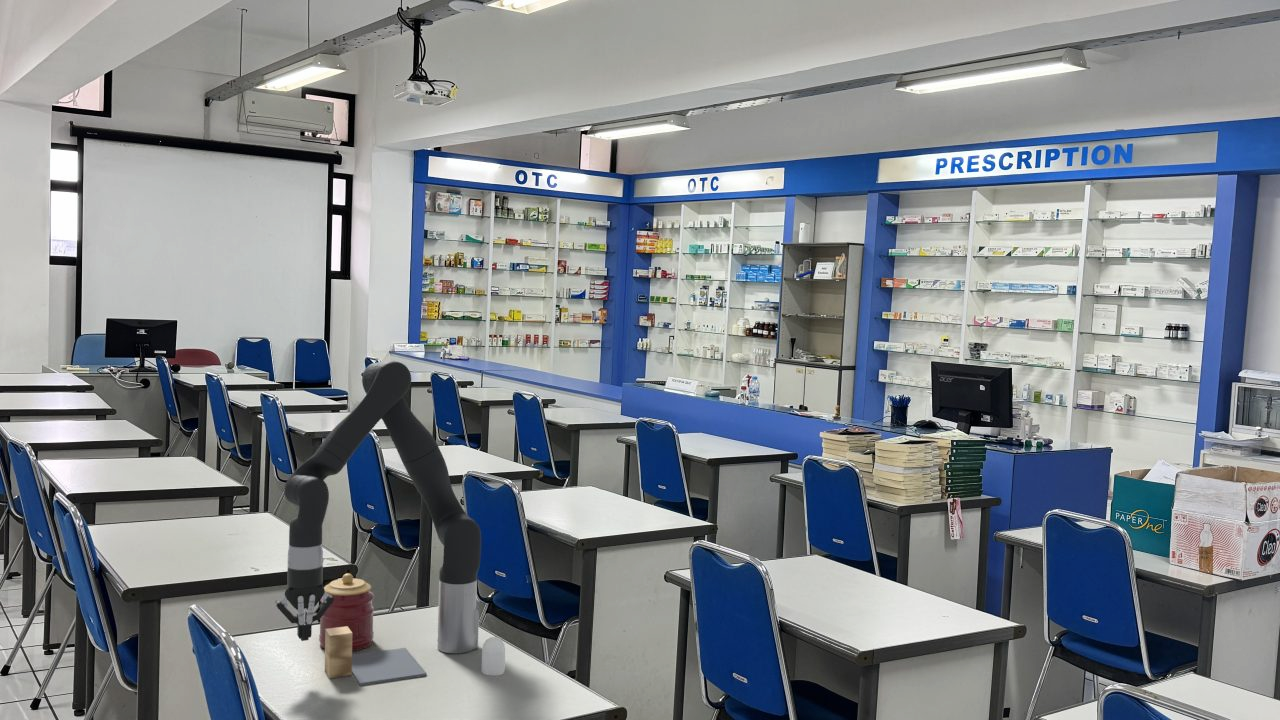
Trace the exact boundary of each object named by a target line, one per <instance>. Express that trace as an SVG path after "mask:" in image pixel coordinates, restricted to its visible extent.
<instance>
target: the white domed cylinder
mask: <svg viewBox="0 0 1280 720" xmlns="http://www.w3.org/2000/svg"><path fill="white" fill-rule="evenodd" d="M505 663H506V646H505V643H504V641H503V640H502V639H501V638H499V637H497V636H492V637H489V638H487V639H486V640H485V641H484V643H483V645H482V648H481V673H482V674H483V675H487V676H499V675H502V674H504V673H505V669H506V668H505V667H506V666H505V665H506V664H505Z"/></svg>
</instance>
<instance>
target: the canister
mask: <svg viewBox="0 0 1280 720" xmlns="http://www.w3.org/2000/svg"><path fill="white" fill-rule="evenodd" d="M323 588H324V590H325V593H327V594H328V595H329V594H330V595H332V597H333V598H334V601H333V603H332V604H331V605H330V606H329V608H328V609H327V610H326V612H325V613H324V614H323V616H322V617H321V618H320V621H319V623H320V624H319V635H318V637H319V639H318V641H319V646H320V647H321V648H322V649H324V650H325V629H329V628H337V627H345V626H348V628H349V629H350V630H351V632H352V652H355V651H360V650H363V649H365V647H366V648H368V647H370V645H371V644H372V643H373V640H374V612H375V607H374V606H373V600H374V599H375V594H374V593H373V592H372V591H370V590H372V585H371V584H370V583H369V582H368V583H367V582H366V580H364V579H360V578H354V576H353V575H352V573H345V574H343V576H342V578H339V579H334V580H332V581H331V582H329V583H328V584H326V585H325V586H323ZM321 600H322V598H321V599H320V601H319V602H321V603H322V601H321Z"/></svg>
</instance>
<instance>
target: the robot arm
mask: <svg viewBox="0 0 1280 720" xmlns="http://www.w3.org/2000/svg"><path fill="white" fill-rule="evenodd" d="M411 374H412V373H411V371H410V369H409V368H408V366H406V365H405V364H404V363H402V362H400V361H396V360H386V361H379V362H373V363H371V364H369V365H367V367H365V369H364V371H363V373H362V377H361V378H362V379H361V382H362V387H363V390H364V392H365V396H364V398H363V399H362V400H361V401H360V403H358V405H357V406H356V407H355V408H354V409H353V410H352V411H351V412H350V413H349V414H348V415H346V416H345V418H343V419H342V420H341V421H340V422H339V423H337V424H336V425H335V427H334V428H333V429H331V431H330V432H329V434H327V436H326V437H325V438H324V440H323V441H322V442H321V444H320V445H319V446H318V448H317V449H316V451H315V453H313V455H311V456H310V457H309V458H308V459H306V460H305V461H304V462H303V463H302V464H301V465H299V467H297V468H296V469H295V471H293V472H292V473H291V474H290V476H289V478H288V479H287V480H286V483H285V486H284V490H283V491H284V497H285V499H286V500H287V501H288V502H289V503H291V504H293V505H296V506H298V507H299V508H298V513H297V514H298V515H297V517H294V518H293V519H292V520H291V521H290V522H289V530H288V531H289V533H288V537H289V538H288V550H287V577H286V578H287V583H286V590H284V591H285V592H284V596H283V597H281V598H280V599H277V600H275V602H274V604H275V606H276V608H277V609H278V610H279V611H280V612H281V614H283V615H284V617H286V618H287V620H288V621H289V622H290V623H291V624H297V627H296V628H297V633H296V635H297V637H298V639H300V641H301V642H304V641H309V638H312V637H311V636H312V632H313V630H312V628H313V627H312V625H313V623H314V622H315V621H319V620H320V618H321V617H322V616H323V614H324V613H325V612H326V610H327V609H328V608H329V606H330V605H331V604H332V603H333V601H334V598H333V597H332V595H330V594H329V595H328V594H327V593H325V590H324V584H323V582H324V580H323V577H324V574H323V573H324V571H323V570H324V569H323V568H324V550H323V523H324V521H325V517H326V513H327V510H328V506H329V502H330V501H329V500H330V499H329V498H330V497H329V496H330V492H329V487H328V484H327V483H326V481H325V480H326V478H327V477H330V476H335V475H337V474H339V473H340V472H341V471H342V470H343V469H344V467H345V466H346V465H347V463H348V462H349V460H350V459H351V458H352V456H353V454H354V453H355V452H356V450H357V449H358V448H359V447H360V445H361V443H362V442H363V441H364V440H365V438H366V437H367V436H368V435H369V433H370V432H371V431H372V430H373V429H374V428H375V426H376V425H377V424H378V423H379V422H380V421H381V420H382V422H383V424H384V425H385V426H384V427H385V428H386V429H387V432H388V434H389V436H390V439H391V441H392V443H393V445H394V447H395V449H396V451H397V453H398V456H399V458H400V460H401V462H402V464H403V466H404V468H405V470H406V473H407V474H408V476H409V478H410V480H411V481H412V483H413V486H414V487H415V489H416V491H417V492H418V494H419V496H421V498H422V500H423V502H424V504H425V505H426V507H427V509H428V510H427V511H428V512H429V514H430V517H431V520H432V522H433V526H434V528H435V531H436V535H437V538H438V540H439V542H440V543H441V544H442V546H443V558H442V565H441V567H440V568H439V571H438V574H439V575H438V576H439V577H438V578H439V580H438V608H437V609H438V612H437V613H438V615H437V617H438V618H437V640H436V641H437V649H438V650H439V651H440V652H443V653H447V654H464V653H468V652H471V651H473V650H477V649H478V648H479V625H480V622H479V620H480V612H479V611H480V610H478V609H477V599H478V597H477V595H478V593H477V592H478V589H477V588H478V572H479V570H480V565H481V555H482V554H481V553H482V531H481V528H480V525H479V524H478V523H477V522H476V521H475V520H474V519H473V518H471V517H470V516H469V515H468V514H467V512H466V511H465V510H464V508H463V507H462V505H461V503H460V502H459V500H458V498H457V496H456V494H455V492H454V489H453V486H452V484H451V479H450V474H449V471H448V466H447V463H446V460H445V458H444V456H443V453H442V452H441V451H442V450H440V447H439V445H438V443H437V441H436V439H435V438H434V437H433V435H432V434H431V432H430V431H429V430H428V429H427V428H426V427H425V426H424V424H423V423H422V422H421V421H420V419H418V418H417V416H416V415H415V414H414V412H413V411H412V410H411V408H410V407H409V405H408V403H407V401H406V398H405V397H404V396H405V395H406V393H408V391H409V390H410V387H411V384H412V375H411ZM321 598H322V600H321V601H322V602H321V601H320V599H321ZM319 602H321V603H320V604H319V606H318V607H317V608H316V610H315V607H316V606H317V605H318V603H319ZM288 603H289V604H291V606H292V607H293V608H294V609H295V613H296V615H294V614H293V613H292V612H291V611H290V610H289V609H288V608H287V607H288V606H289V605H288ZM314 610H315V611H314Z"/></svg>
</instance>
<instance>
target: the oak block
mask: <svg viewBox="0 0 1280 720" xmlns="http://www.w3.org/2000/svg"><path fill="white" fill-rule="evenodd" d="M352 655H353V651H352V632H351V630H350V629H349V628H348V626H345V627H337V628H329V629H325V649H324V674H325V675H326V676H327V678H328V680H332V679H339V678H349V677H353V675H352Z"/></svg>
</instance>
